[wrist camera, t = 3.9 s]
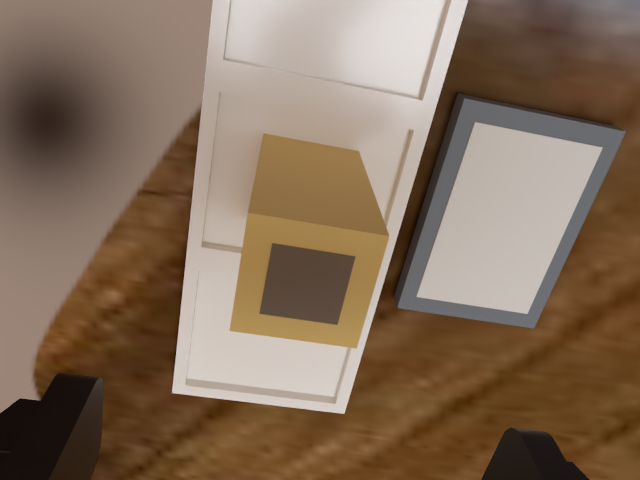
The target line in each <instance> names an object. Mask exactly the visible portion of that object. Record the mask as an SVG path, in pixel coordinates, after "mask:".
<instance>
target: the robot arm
mask: <svg viewBox="0 0 640 480" xmlns="http://www.w3.org/2000/svg"><path fill="white" fill-rule="evenodd" d="M102 407H103V380H102V378H101V377H93V376H84V375H76V374H68V373H58V374H57V375H56V376H55V377H54V379H53V381H52V382H51V384H50V386H49V387H48V389H47V391H46V392H45V394H44V396H43V397H42V399H41V401H37V400H28V399H19V400H17V401H16V402H15V403H13V404H12V405H11V406H10V407H8V408H7V409H6V410H4V411H3V412H1V413H0V480H90V479H91V476H92V474H93V471H94V468H95V465H96V462H97V458H98V454H99V450H100V444H101V436H102ZM482 480H589V479H588V478H587V477H586V476H585V475H584V474H583V473H582V472H581V471H580V470H579V469H578V467H577V466H576V465H575V464H574V463H573V462H566V460H565V458H564V456H563V455H562V453H561V451H560V449H559V448H558V446H557V444H556V442H555V441H554V439H553V438H552V436H551V435H550V434H548V433H546V432H540V431H532V430H523V429H515V428H510V429H508V430H506V431H505V433H504V434H503V436H502V438H501V440H500V442H499V444H498V446H497V448H496V451H495V453H494V455H493V457H492V459H491V461H490V463H489V465H488V467H487V469H486V471H485V473H484V475H483V477H482Z"/></svg>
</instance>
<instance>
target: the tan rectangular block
mask: <svg viewBox="0 0 640 480" xmlns="http://www.w3.org/2000/svg"><path fill="white" fill-rule="evenodd" d="M388 240H389V233H388V231H387V228H386V225H385V222H384V220H383V217H382V214H381V211H380V208H379V206H378V203H377V200H376V197H375V195H374V192H373V189H372V186H371V183H370V181H369V178H368V175H367V172H366V170H365V167H364V164H363V161H362V159H361V156H360V153H359V151H355V150H350V149H345V148H339V147H334V146H329V145H323V144H318V143H313V142H307V141H302V140H297V139H291V138H286V137H281V136H275V135H270V134H265V133H264V134H263V139H262V144H261V149H260V154H259V159H258V164H257V169H256V174H255V179H254V184H253V189H252V194H251V199H250V204H249V209H248V214H247V221H246V227H245V234H244V240H243V247H242V253H241V259H240V266H239V272H238V279H237V285H236V292H235V298H234V304H233V311H232V317H231V324H230V330H229V331H233V332H240V333H248V334H255V335H262V336H269V337H277V338H284V339H291V340H298V341H306V342H313V343H320V344H327V345H335V346H342V347H349V348H356V349H357V346H358V343H359V339H360V336H361V332H362V329H363V326H364V322H365V319H366V315H367V312H368V308H369V305H370V302H371V298H372V295H373V291H374V288H375V284H376V281H377V278H378V274H379V271H380V267H381V264H382V260H383V257H384V254H385V250H386V247H387V243H388Z"/></svg>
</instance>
